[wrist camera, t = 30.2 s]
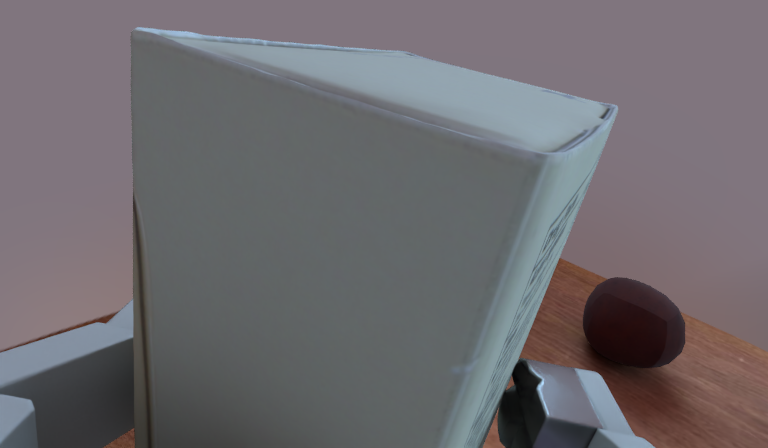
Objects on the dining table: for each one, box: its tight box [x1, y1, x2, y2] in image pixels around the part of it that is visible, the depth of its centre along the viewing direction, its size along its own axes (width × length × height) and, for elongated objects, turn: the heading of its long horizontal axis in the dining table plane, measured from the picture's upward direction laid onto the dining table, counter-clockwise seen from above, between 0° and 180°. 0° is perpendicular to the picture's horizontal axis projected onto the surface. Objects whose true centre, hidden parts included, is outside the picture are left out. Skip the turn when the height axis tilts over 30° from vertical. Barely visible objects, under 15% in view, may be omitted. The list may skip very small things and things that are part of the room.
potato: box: [583, 277, 685, 368], centre depth 37 cm, size 7×8×6 cm
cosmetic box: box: [131, 27, 618, 448], centre depth 9 cm, size 6×4×12 cm
